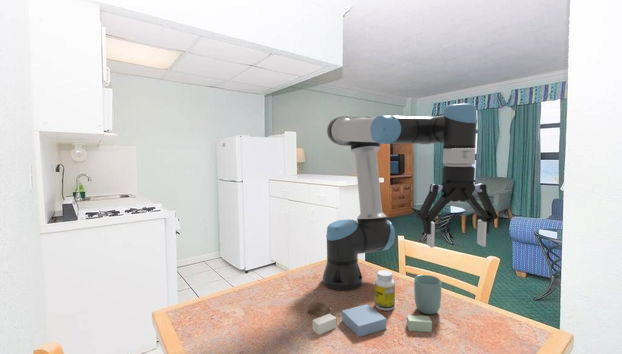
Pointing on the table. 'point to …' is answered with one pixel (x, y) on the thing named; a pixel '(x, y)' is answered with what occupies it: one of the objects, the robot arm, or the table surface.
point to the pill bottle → (384, 290)
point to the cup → (427, 293)
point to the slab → (363, 320)
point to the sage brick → (419, 323)
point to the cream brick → (324, 324)
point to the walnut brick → (318, 308)
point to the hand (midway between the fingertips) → (455, 245)
